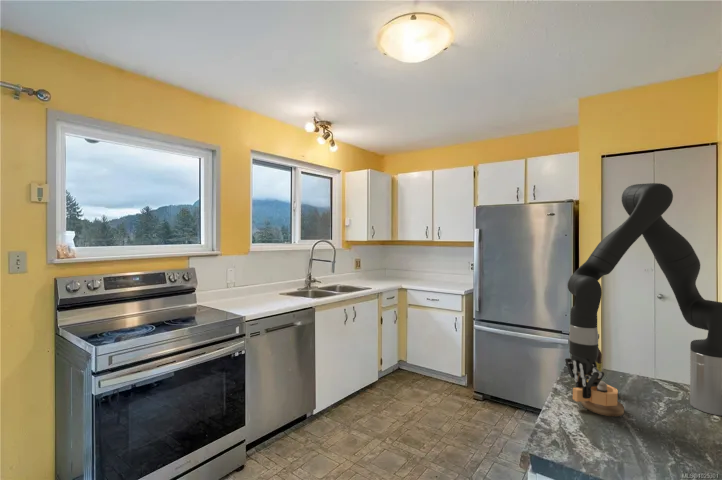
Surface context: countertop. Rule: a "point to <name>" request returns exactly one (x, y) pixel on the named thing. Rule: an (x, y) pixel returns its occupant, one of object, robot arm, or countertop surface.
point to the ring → (598, 396)
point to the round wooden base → (602, 409)
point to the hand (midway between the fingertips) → (583, 395)
